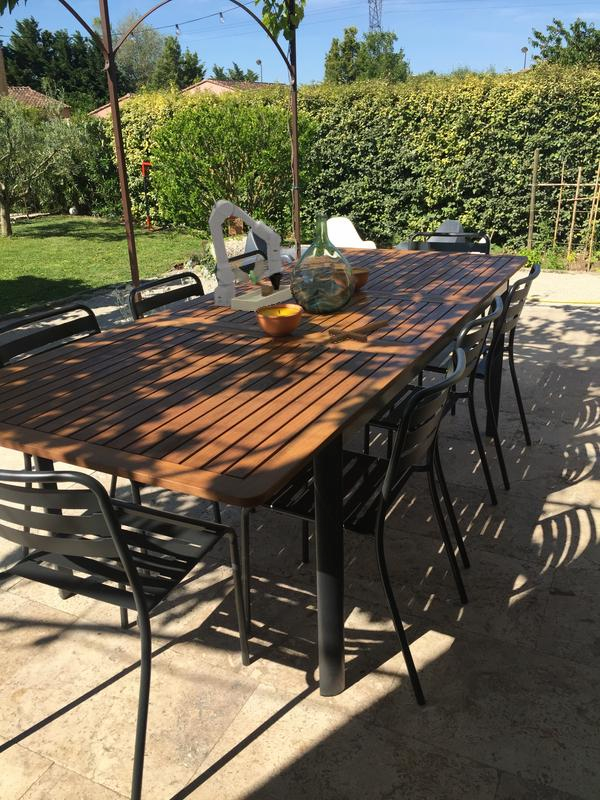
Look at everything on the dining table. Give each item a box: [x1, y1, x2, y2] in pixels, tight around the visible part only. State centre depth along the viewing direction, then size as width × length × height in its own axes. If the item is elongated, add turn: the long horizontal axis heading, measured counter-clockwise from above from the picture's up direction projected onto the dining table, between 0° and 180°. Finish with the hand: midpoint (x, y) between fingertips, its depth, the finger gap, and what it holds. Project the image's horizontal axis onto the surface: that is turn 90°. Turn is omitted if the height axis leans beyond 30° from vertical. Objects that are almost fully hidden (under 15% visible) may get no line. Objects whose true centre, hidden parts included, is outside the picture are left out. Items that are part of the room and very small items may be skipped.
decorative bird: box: [229, 253, 268, 286], centre depth 321 cm, size 24×10×15 cm
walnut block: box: [260, 285, 274, 297], centre depth 285 cm, size 4×4×4 cm
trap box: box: [230, 284, 293, 313], centre depth 283 cm, size 32×13×4 cm, turn 150°
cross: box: [327, 319, 389, 344], centre depth 230 cm, size 16×2×30 cm
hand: (276, 289), depth 291 cm, fingers closed
